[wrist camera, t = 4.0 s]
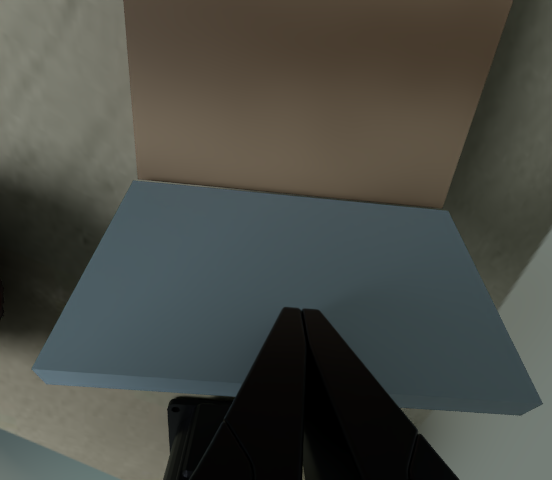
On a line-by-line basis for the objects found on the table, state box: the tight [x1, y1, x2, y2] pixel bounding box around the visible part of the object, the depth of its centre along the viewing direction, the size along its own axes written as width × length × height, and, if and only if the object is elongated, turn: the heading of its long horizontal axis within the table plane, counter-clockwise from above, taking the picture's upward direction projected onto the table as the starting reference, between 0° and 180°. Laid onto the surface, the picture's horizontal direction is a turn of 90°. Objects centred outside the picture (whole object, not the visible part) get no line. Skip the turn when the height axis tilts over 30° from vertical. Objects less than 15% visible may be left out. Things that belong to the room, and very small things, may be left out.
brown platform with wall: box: [123, 0, 513, 208], centre depth 10 cm, size 9×11×6 cm
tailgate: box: [32, 181, 543, 415], centre depth 10 cm, size 1×11×6 cm, turn 84°
